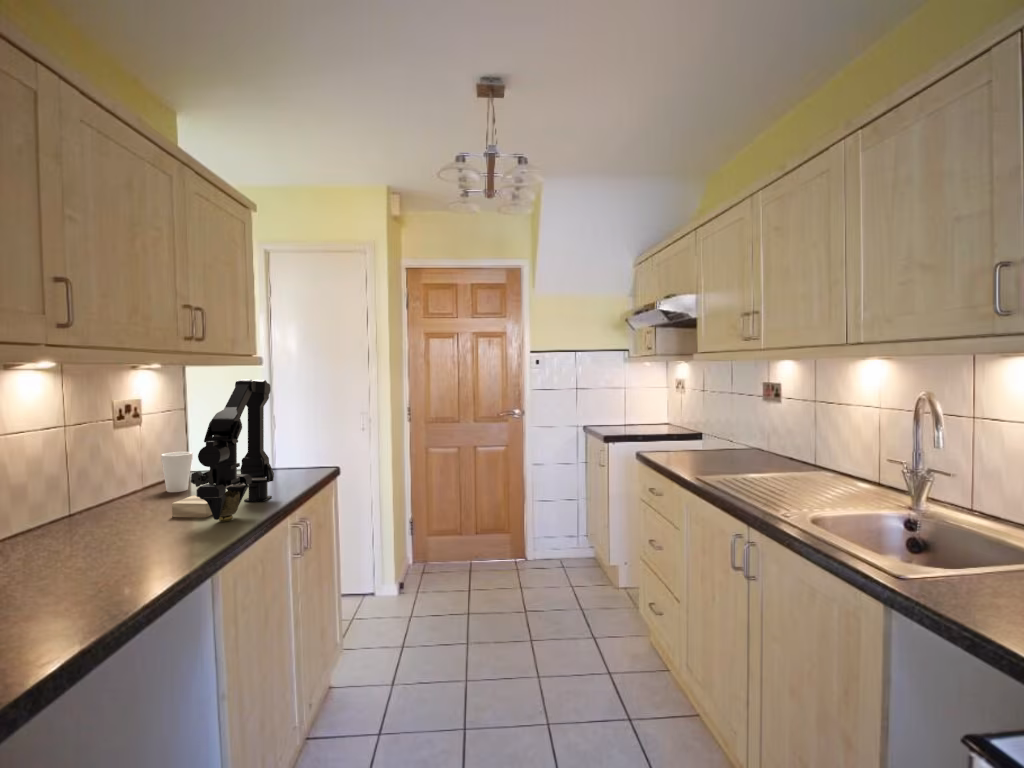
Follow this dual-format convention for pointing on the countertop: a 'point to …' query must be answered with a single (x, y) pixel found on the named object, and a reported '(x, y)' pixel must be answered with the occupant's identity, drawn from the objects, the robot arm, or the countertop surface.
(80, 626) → the countertop surface
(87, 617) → the countertop surface
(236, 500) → the cup
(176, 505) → the pedestal
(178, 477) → the foam cup
